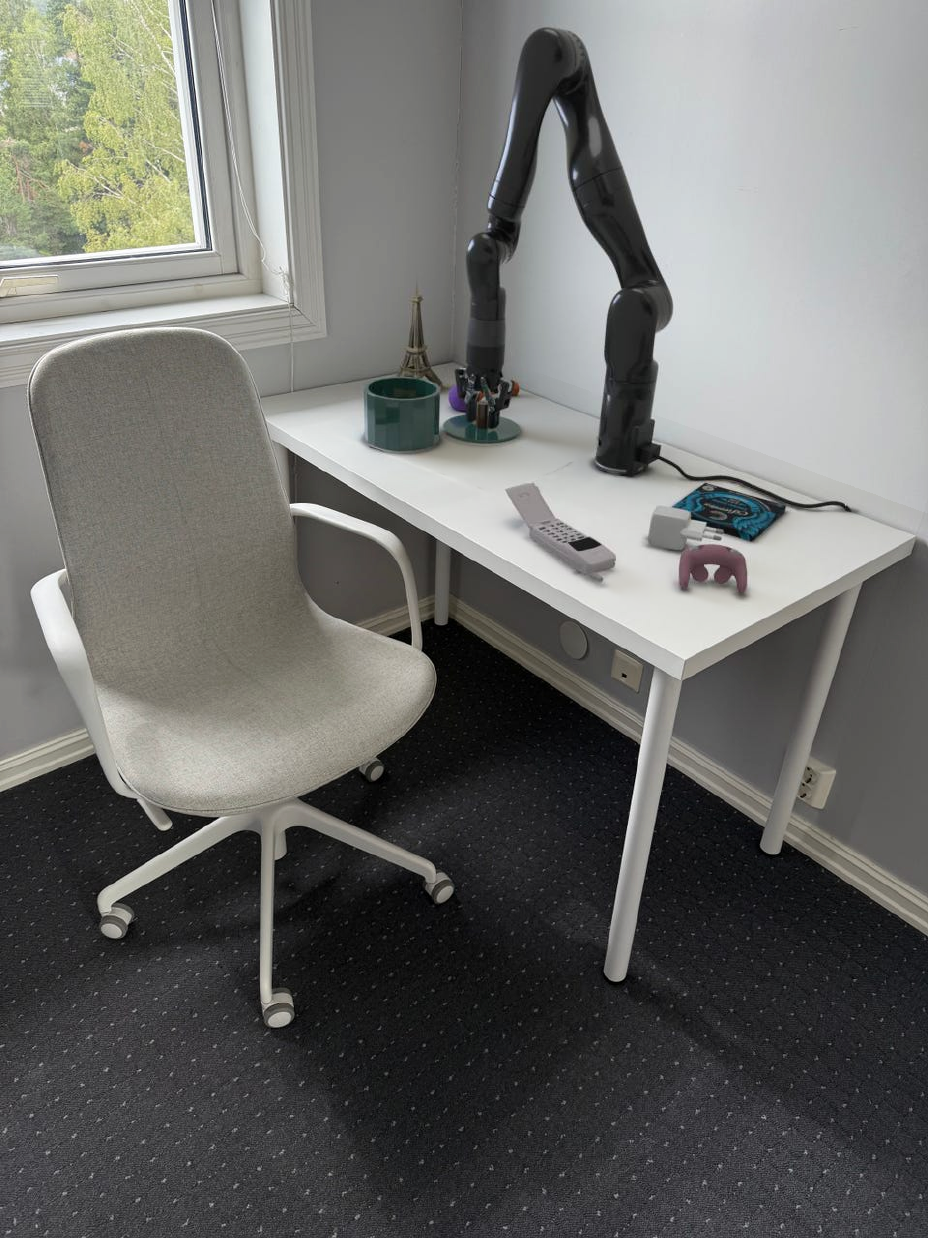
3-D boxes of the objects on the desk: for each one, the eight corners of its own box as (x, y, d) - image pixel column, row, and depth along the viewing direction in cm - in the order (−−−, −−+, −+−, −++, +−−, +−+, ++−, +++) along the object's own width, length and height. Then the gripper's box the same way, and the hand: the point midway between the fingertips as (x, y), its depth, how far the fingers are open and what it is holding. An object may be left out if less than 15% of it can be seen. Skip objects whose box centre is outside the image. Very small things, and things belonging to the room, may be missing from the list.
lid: (535, 432, 187) (538, 403, 184) (486, 452, 177) (488, 421, 174) (476, 413, 196) (478, 385, 193) (426, 431, 186) (427, 401, 182)
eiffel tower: (422, 400, 202) (423, 282, 189) (383, 391, 207) (382, 275, 194) (447, 389, 210) (450, 275, 197) (409, 380, 214) (410, 268, 201)
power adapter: (720, 548, 145) (727, 514, 142) (716, 561, 141) (723, 527, 138) (651, 534, 148) (656, 501, 145) (645, 547, 145) (650, 513, 141)
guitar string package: (786, 505, 157) (753, 534, 147) (784, 512, 158) (752, 541, 148) (705, 482, 165) (668, 508, 154) (704, 489, 166) (667, 515, 155)
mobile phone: (532, 481, 151) (631, 540, 132) (530, 513, 154) (626, 576, 136) (502, 488, 148) (598, 550, 130) (500, 521, 151) (594, 586, 133)
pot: (454, 440, 182) (456, 388, 176) (402, 459, 172) (402, 405, 167) (401, 422, 190) (401, 371, 184) (349, 439, 180) (348, 387, 174)
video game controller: (741, 593, 136) (745, 546, 135) (748, 595, 131) (753, 546, 131) (674, 588, 136) (678, 541, 136) (679, 589, 132) (683, 541, 131)
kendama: (526, 381, 204) (465, 392, 190) (519, 405, 207) (459, 418, 194) (507, 370, 207) (446, 380, 193) (501, 394, 210) (440, 406, 197)
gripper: (527, 344, 175) (520, 429, 184) (470, 329, 183) (467, 411, 192) (502, 351, 170) (497, 438, 179) (445, 335, 178) (443, 419, 187)
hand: (481, 424), depth 186 cm, fingers open, 5 cm apart
